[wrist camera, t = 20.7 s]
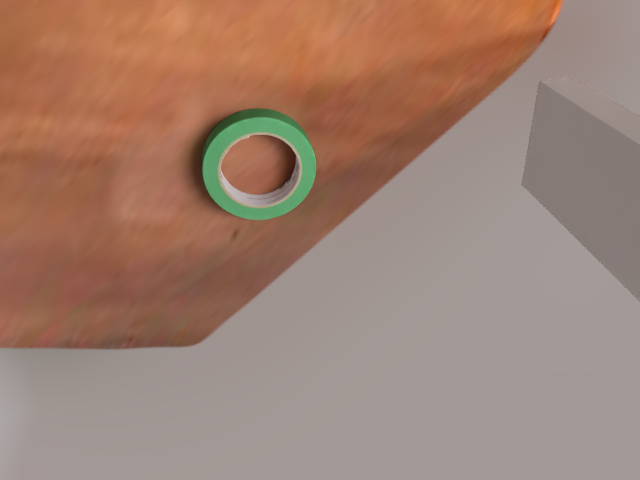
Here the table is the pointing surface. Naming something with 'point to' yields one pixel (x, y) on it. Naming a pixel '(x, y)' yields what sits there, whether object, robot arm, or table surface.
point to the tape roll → (242, 128)
